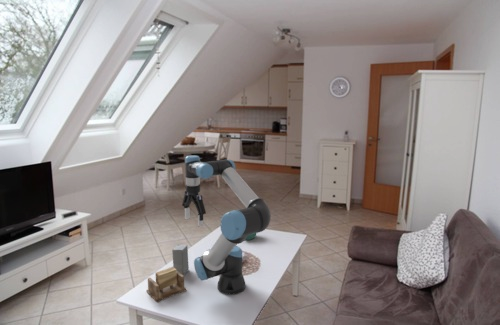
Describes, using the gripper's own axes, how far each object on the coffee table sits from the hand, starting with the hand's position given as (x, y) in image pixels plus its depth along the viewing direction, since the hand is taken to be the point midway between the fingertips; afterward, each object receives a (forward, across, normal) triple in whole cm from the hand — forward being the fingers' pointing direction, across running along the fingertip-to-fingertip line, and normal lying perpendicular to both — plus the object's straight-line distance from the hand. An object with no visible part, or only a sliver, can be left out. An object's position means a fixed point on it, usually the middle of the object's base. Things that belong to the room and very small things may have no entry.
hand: (193, 222), depth 184 cm
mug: (+35, +27, -61) cm, 75 cm away
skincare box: (+35, +14, +1) cm, 38 cm away
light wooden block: (+31, +1, +17) cm, 35 cm away
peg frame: (+35, +1, +17) cm, 39 cm away
